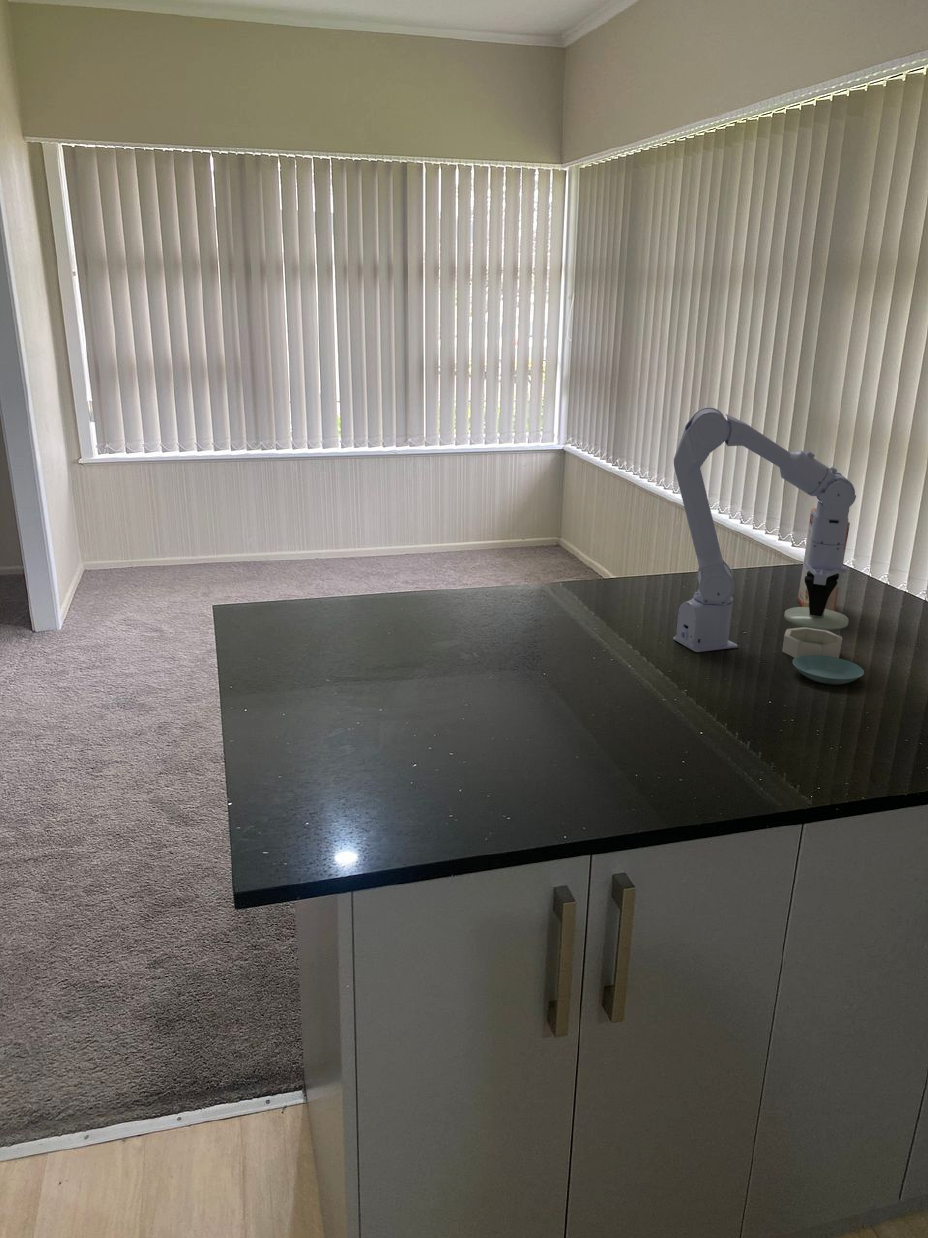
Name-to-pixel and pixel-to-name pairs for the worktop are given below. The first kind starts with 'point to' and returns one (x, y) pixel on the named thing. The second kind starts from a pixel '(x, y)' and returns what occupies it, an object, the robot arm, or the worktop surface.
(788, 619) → the lid
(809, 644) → the bowl
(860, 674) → the saucer
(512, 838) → the worktop surface
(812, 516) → the cracker box
